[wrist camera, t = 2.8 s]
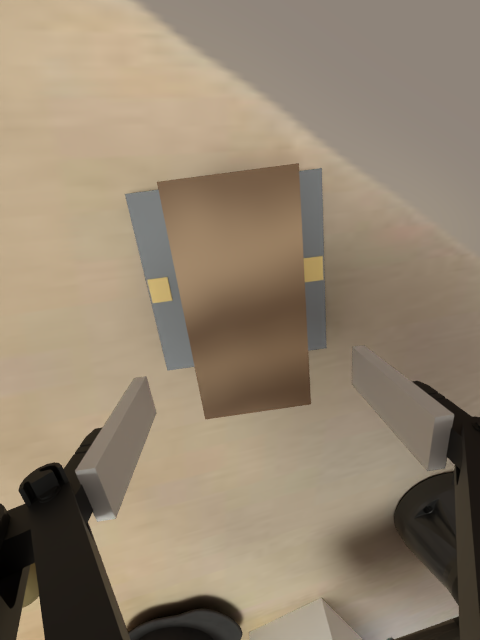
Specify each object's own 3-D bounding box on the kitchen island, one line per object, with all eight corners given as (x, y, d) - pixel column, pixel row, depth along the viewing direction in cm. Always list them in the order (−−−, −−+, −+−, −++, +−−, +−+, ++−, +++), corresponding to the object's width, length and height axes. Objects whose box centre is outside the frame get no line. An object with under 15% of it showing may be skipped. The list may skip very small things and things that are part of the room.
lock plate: (316, 172, 25) (356, 141, 17) (321, 342, 30) (354, 377, 22) (130, 196, 24) (87, 176, 17) (170, 364, 30) (151, 406, 22)
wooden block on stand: (189, 209, 24) (156, 182, 12) (264, 200, 24) (298, 163, 12) (213, 347, 28) (205, 419, 17) (276, 338, 28) (310, 404, 17)
